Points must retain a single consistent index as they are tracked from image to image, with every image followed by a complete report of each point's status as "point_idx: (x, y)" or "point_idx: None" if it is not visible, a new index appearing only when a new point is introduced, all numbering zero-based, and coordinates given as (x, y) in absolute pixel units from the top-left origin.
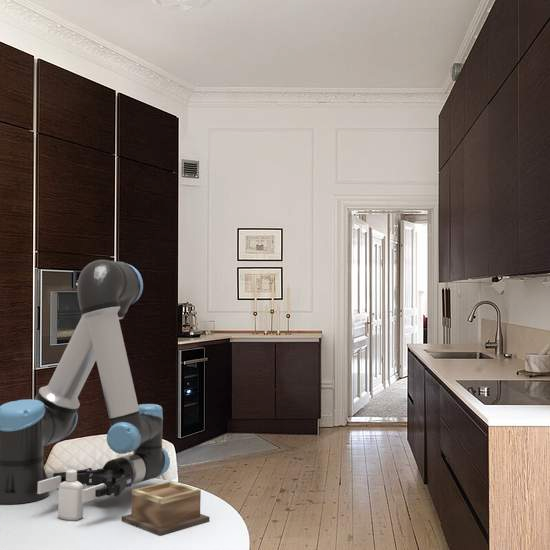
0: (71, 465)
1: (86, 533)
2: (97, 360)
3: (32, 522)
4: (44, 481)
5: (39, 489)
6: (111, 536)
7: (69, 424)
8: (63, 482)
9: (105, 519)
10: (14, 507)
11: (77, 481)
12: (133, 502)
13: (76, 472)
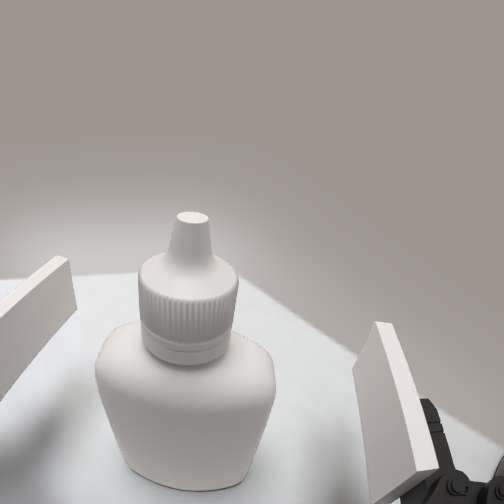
0: (187, 212)
1: (64, 331)
2: None
3: (292, 384)
4: (380, 345)
5: (363, 353)
6: None
7: None
8: (237, 334)
9: (29, 455)
10: (473, 456)
11: (136, 349)
12: None
13: (140, 281)
